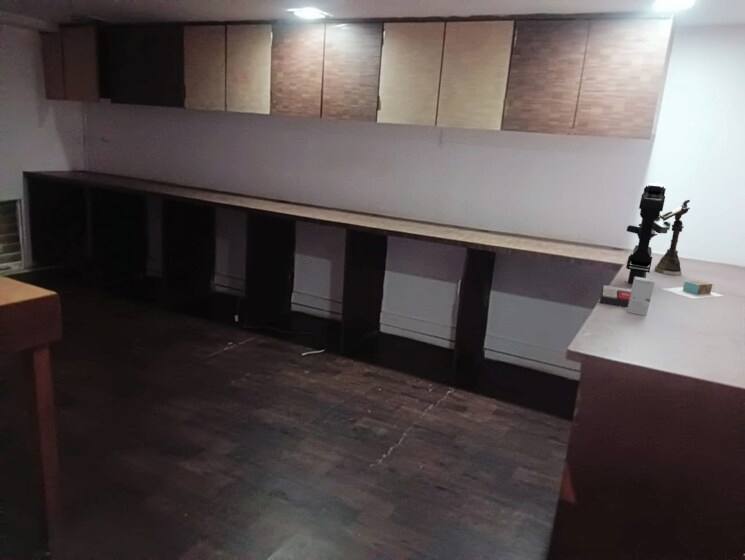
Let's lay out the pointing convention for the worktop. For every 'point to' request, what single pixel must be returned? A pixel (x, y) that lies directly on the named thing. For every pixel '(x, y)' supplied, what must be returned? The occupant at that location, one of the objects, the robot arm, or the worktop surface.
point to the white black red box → (615, 296)
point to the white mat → (690, 295)
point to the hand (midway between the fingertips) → (643, 248)
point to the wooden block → (697, 287)
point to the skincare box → (640, 295)
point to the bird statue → (672, 243)
